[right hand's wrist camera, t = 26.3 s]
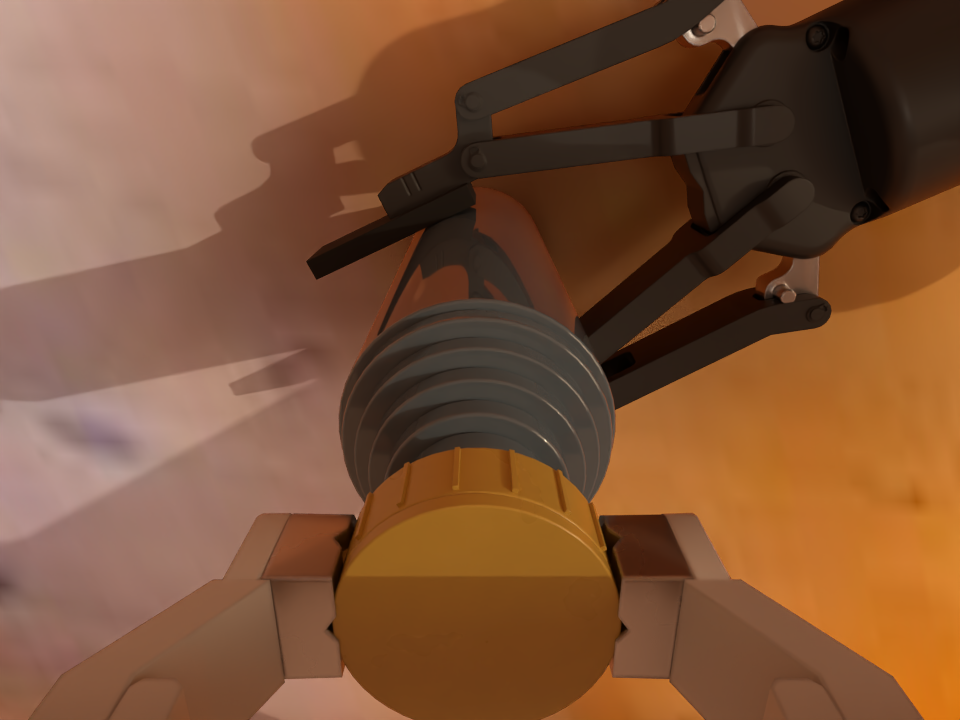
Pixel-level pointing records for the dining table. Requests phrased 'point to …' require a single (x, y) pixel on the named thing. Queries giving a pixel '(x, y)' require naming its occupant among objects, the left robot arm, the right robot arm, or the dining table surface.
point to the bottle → (477, 356)
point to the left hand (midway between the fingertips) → (363, 337)
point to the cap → (477, 590)
